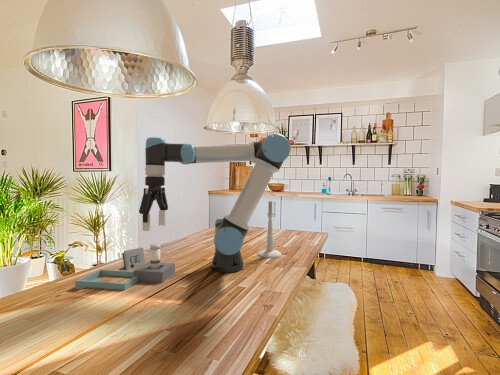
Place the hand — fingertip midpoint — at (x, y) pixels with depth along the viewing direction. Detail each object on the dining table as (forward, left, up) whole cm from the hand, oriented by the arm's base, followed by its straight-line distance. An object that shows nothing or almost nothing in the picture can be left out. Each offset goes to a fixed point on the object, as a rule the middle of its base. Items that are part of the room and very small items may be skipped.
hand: (154, 228), depth 117 cm
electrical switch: (+16, -11, -21) cm, 29 cm away
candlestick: (-44, -46, -21) cm, 67 cm away
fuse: (0, 0, -20) cm, 20 cm away
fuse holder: (0, 0, -21) cm, 21 cm away
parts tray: (+14, +8, -21) cm, 26 cm away
